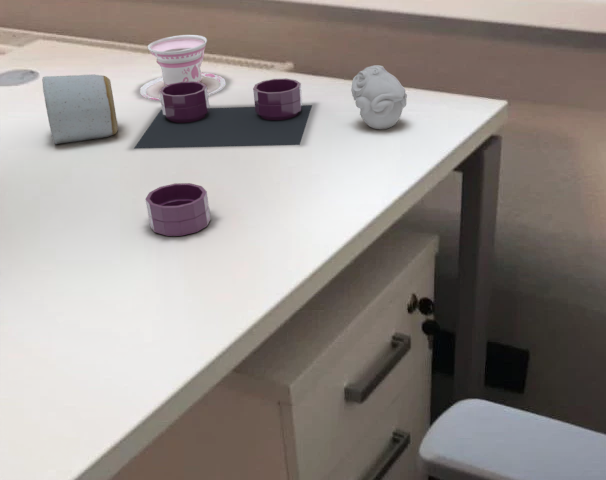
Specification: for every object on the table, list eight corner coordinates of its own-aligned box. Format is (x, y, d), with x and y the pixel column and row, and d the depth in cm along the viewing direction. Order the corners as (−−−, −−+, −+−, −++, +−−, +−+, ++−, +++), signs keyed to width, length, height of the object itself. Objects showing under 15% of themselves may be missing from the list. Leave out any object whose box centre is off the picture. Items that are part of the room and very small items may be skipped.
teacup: (185, 109, 116) (178, 60, 112) (122, 96, 122) (113, 49, 118) (243, 83, 123) (239, 36, 120) (181, 72, 129) (175, 27, 126)
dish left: (159, 124, 111) (155, 96, 109) (170, 109, 116) (165, 82, 113) (204, 123, 110) (200, 95, 108) (213, 108, 115) (210, 80, 113)
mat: (134, 151, 105) (133, 148, 105) (161, 112, 116) (161, 109, 116) (299, 148, 103) (299, 144, 103) (312, 108, 114) (312, 105, 113)
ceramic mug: (123, 143, 108) (110, 77, 103) (55, 153, 106) (39, 86, 102) (116, 117, 116) (104, 55, 111) (53, 126, 115) (38, 64, 110)
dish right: (253, 122, 110) (250, 93, 108) (260, 106, 114) (257, 79, 112) (299, 120, 109) (297, 92, 107) (304, 105, 113) (302, 77, 111)
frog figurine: (373, 115, 110) (373, 56, 105) (418, 126, 106) (419, 65, 102) (341, 130, 107) (339, 69, 102) (386, 141, 103) (385, 79, 98)
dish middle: (145, 241, 86) (139, 207, 84) (160, 215, 91) (154, 183, 88) (203, 240, 85) (199, 207, 83) (215, 214, 90) (211, 182, 88)
